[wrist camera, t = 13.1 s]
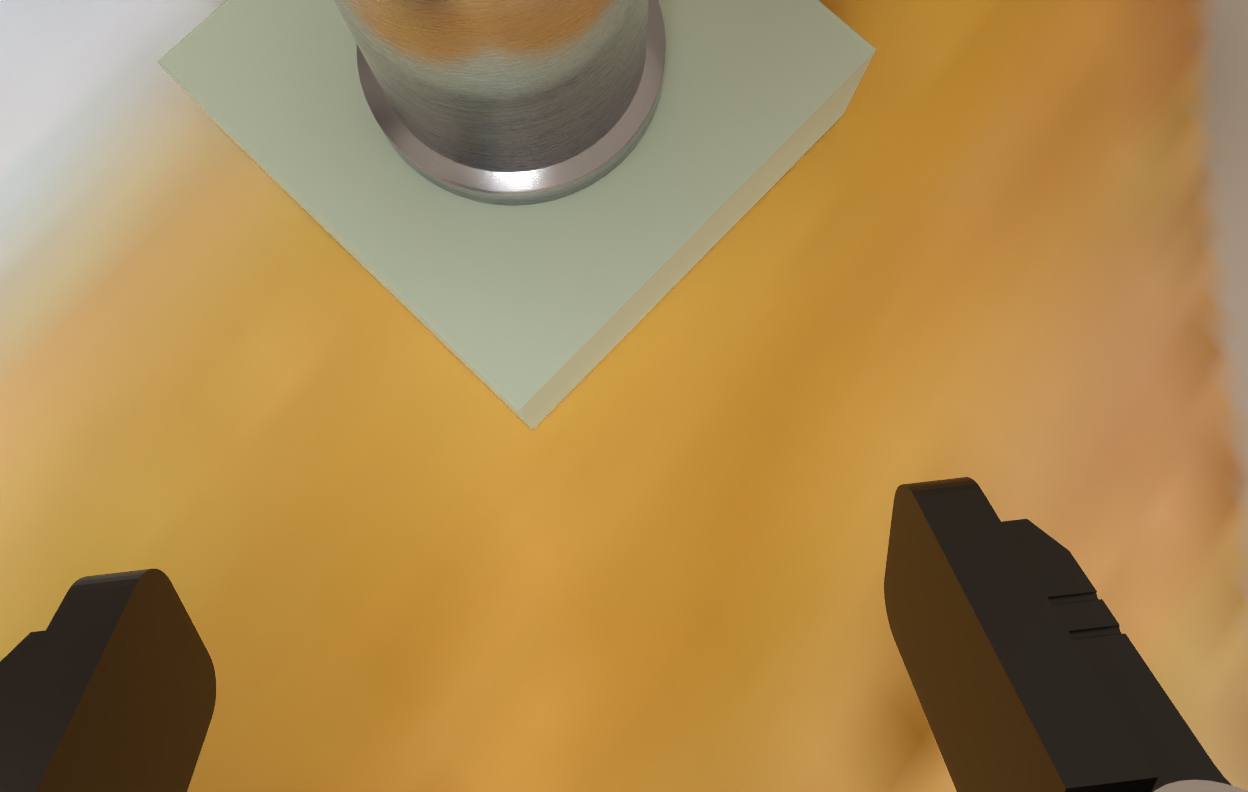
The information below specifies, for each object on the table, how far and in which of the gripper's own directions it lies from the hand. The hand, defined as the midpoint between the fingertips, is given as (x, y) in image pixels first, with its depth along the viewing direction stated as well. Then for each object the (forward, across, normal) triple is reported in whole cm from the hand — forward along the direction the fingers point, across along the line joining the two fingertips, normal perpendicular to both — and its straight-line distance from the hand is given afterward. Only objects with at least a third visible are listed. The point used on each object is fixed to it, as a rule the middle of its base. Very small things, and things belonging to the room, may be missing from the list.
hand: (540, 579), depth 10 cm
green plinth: (+15, 0, 0) cm, 15 cm away
